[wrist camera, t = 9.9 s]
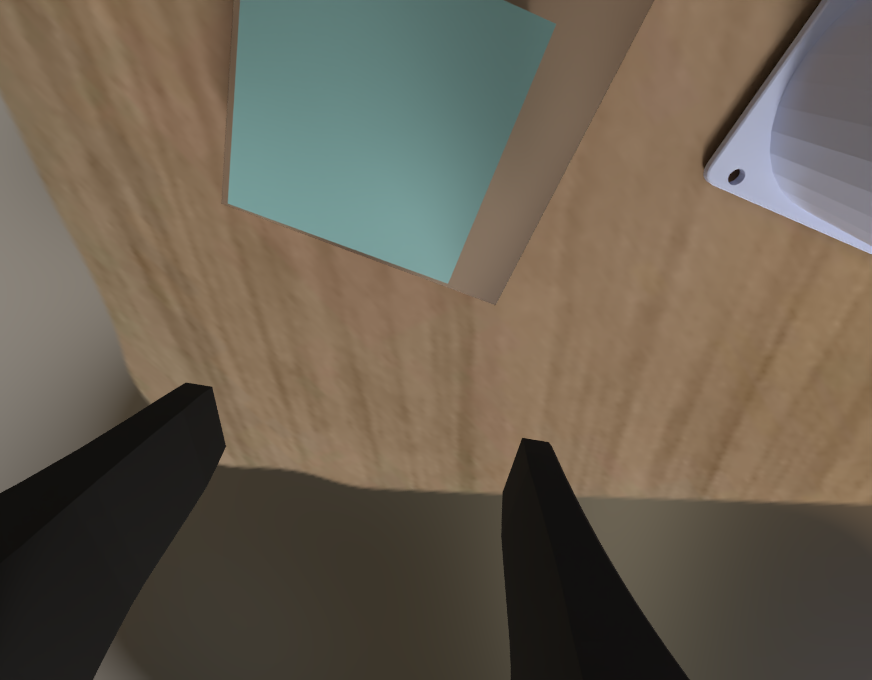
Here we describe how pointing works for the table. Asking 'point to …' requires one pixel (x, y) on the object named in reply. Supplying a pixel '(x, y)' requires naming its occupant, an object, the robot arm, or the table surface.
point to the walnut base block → (523, 134)
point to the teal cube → (378, 118)
